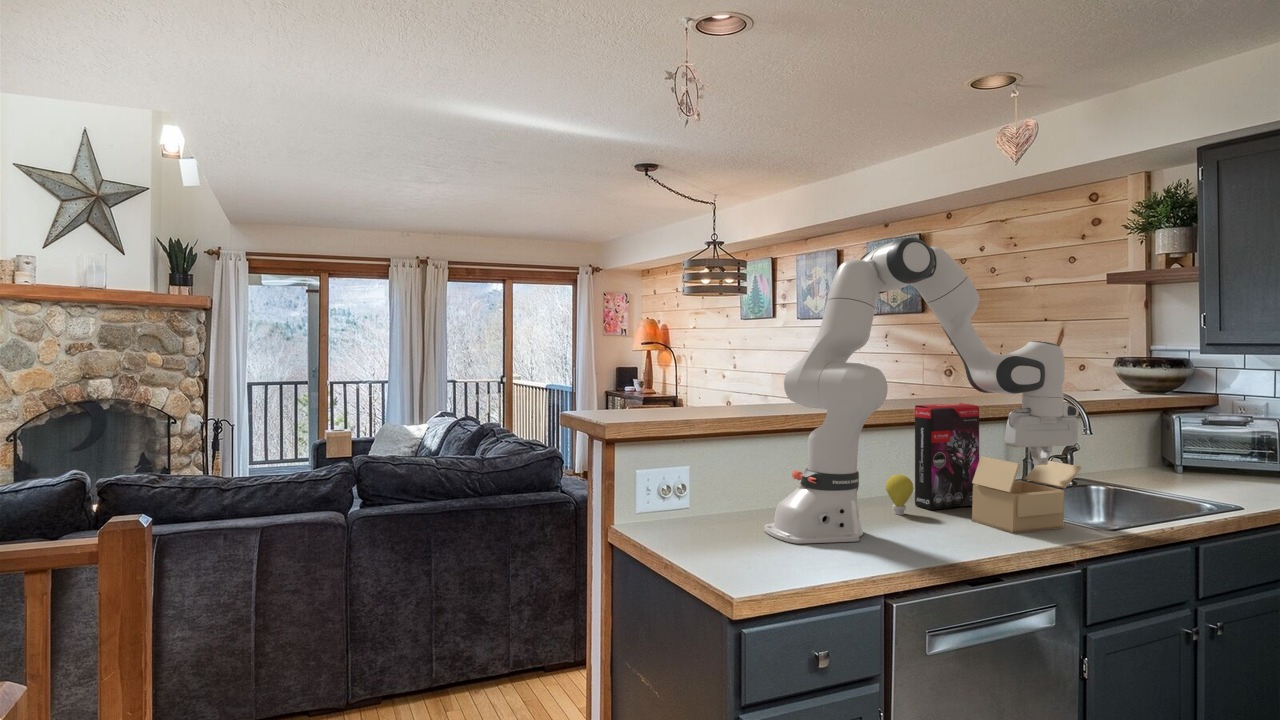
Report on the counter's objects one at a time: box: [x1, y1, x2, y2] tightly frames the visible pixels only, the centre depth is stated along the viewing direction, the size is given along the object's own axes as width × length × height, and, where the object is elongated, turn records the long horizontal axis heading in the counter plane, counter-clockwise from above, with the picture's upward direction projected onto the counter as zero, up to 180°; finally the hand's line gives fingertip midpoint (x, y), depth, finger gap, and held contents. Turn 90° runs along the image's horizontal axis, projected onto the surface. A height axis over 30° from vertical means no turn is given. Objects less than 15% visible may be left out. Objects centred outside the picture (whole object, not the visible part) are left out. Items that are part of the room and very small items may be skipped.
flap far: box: [1024, 460, 1082, 489], centre depth 179 cm, size 1×11×7 cm
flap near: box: [972, 455, 1021, 493], centre depth 173 cm, size 1×11×7 cm, turn 22°
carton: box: [971, 480, 1065, 535], centre depth 176 cm, size 16×13×9 cm
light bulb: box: [885, 473, 915, 516], centre depth 185 cm, size 7×7×10 cm
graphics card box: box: [914, 402, 980, 511], centre depth 194 cm, size 17×7×27 cm, turn 112°
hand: (1040, 464), depth 177 cm, fingers closed
